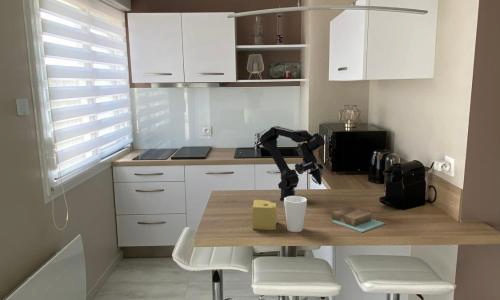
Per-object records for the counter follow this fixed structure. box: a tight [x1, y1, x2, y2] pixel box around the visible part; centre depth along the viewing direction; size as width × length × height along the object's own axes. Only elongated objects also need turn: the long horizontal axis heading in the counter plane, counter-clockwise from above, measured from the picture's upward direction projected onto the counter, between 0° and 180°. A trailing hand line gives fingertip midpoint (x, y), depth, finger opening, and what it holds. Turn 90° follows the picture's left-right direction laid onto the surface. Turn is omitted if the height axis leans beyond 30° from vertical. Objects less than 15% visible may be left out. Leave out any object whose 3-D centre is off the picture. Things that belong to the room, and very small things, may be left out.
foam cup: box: [283, 195, 308, 233], centre depth 164 cm, size 10×9×13 cm
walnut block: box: [331, 206, 373, 227], centre depth 175 cm, size 4×12×12 cm
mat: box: [331, 218, 385, 233], centre depth 172 cm, size 16×16×1 cm
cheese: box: [251, 199, 278, 231], centre depth 168 cm, size 10×11×10 cm
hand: (320, 184), depth 187 cm, fingers closed
